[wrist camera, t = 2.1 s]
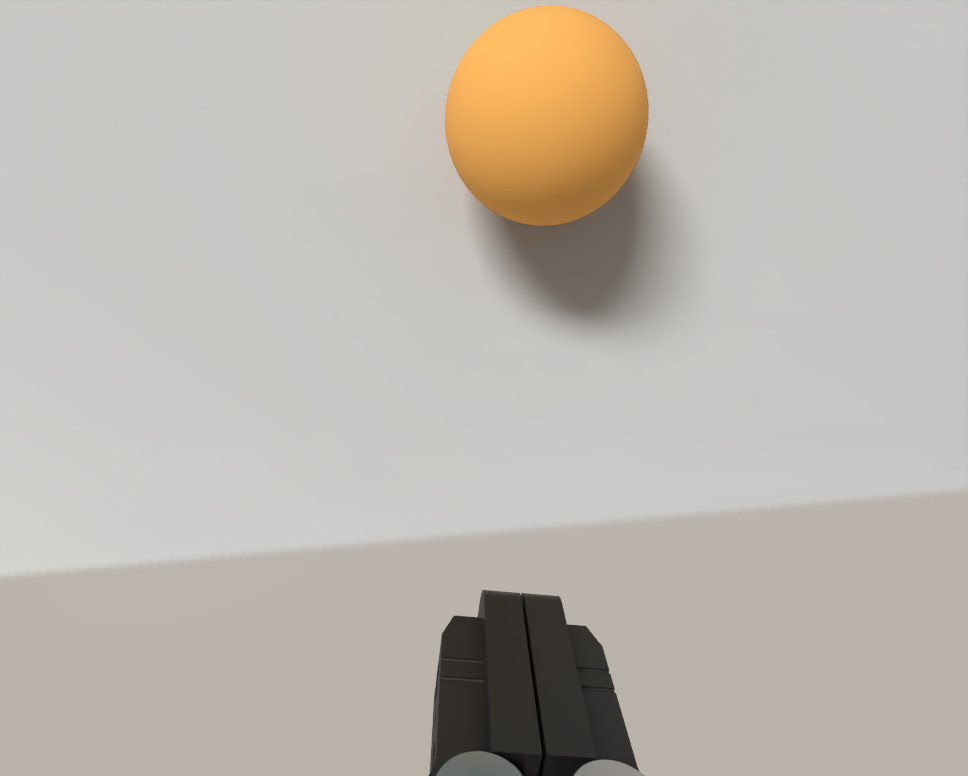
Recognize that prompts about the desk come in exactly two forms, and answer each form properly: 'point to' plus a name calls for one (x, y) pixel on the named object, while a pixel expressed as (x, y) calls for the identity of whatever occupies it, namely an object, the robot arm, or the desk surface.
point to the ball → (546, 115)
